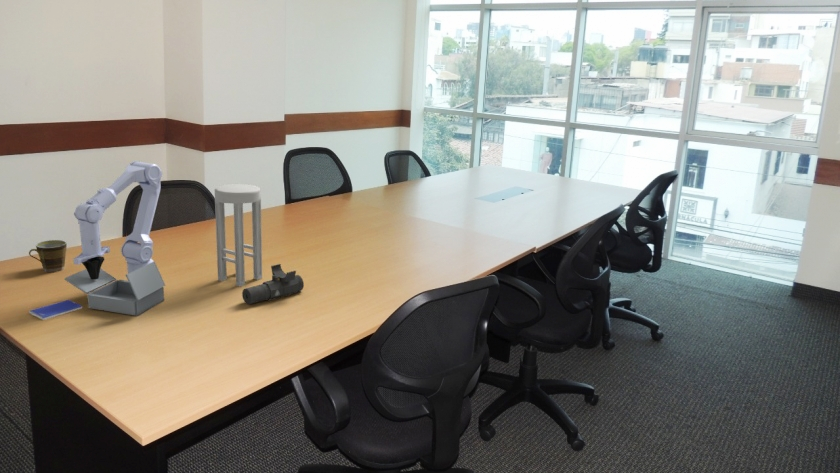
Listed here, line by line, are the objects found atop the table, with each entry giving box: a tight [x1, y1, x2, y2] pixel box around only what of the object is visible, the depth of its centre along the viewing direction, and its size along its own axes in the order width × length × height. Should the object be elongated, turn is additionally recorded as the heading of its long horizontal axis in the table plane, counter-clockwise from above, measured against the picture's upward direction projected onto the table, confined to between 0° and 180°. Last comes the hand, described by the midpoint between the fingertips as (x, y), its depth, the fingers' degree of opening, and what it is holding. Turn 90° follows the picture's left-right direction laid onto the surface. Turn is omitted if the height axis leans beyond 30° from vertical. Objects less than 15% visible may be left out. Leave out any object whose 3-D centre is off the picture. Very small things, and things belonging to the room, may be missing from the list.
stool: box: [214, 183, 263, 287], centre depth 238 cm, size 16×16×35 cm
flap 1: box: [64, 268, 117, 295], centre depth 216 cm, size 14×9×1 cm, turn 166°
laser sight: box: [241, 263, 305, 305], centre depth 226 cm, size 10×22×10 cm, turn 137°
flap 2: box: [125, 260, 166, 300], centre depth 210 cm, size 14×9×1 cm
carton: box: [87, 279, 165, 317], centre depth 214 cm, size 15×18×5 cm
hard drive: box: [28, 299, 83, 321], centre depth 207 cm, size 2×8×12 cm
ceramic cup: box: [28, 239, 67, 273], centre depth 240 cm, size 13×10×10 cm
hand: (94, 278), depth 215 cm, fingers closed
